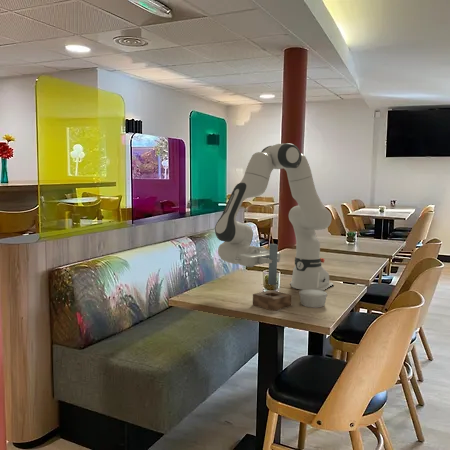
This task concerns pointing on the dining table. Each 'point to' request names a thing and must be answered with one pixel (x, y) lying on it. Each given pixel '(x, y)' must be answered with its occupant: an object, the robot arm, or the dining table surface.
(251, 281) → the dining table surface
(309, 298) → the ramekin
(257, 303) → the wooden candle holder
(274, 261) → the dowel
